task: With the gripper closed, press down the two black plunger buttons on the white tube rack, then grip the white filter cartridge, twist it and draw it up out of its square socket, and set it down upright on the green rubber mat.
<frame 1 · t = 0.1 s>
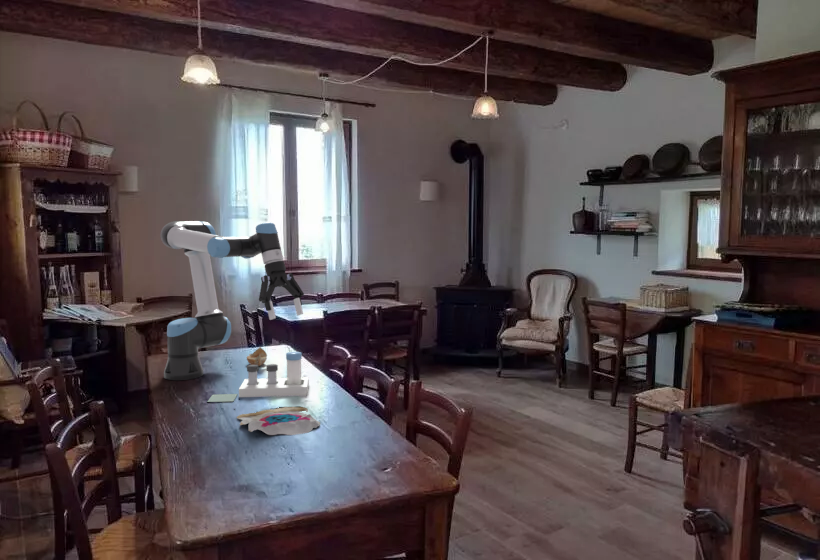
hand: (286, 317, 226), 28 cm above the table, tool tilted 20°, fingers open, 13 cm apart
plunger a: (252, 375, 221), point 7 cm above the table, slide at 0.0 cm
cartridge: (294, 390, 224), point 1 cm above the table, touching white tube rack
plunger b: (272, 374, 222), point 7 cm above the table, slide at 0.0 cm
rumpled printed cloth: (277, 423, 192), on the table
white tube rack: (275, 393, 223), on the table
mat: (222, 398, 216), on the table
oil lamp: (256, 365, 269), on the table
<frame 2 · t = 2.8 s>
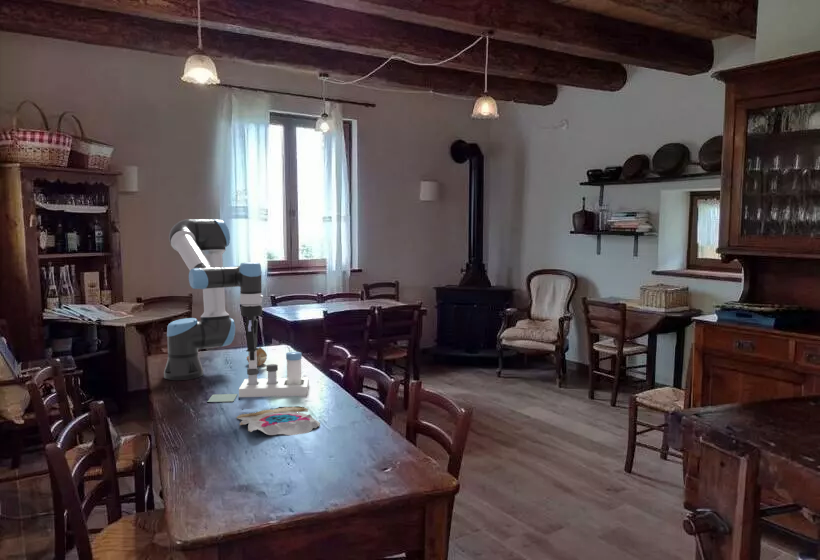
hand: (252, 368, 221), 10 cm above the table, tool pointing down, fingers closed
plunger a: (252, 377, 221), point 6 cm above the table, slide at 1.1 cm, touching gripper
everything else where it was.
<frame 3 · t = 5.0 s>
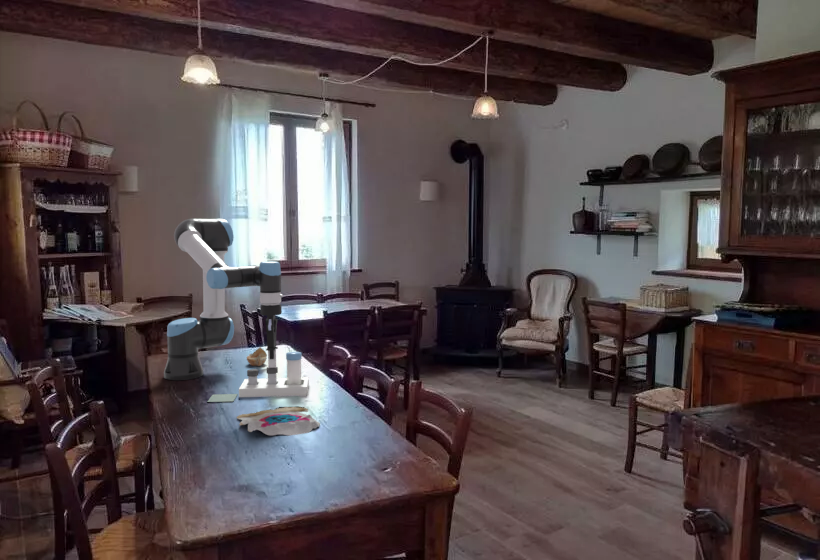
hand: (272, 367, 222), 10 cm above the table, tool pointing down, fingers closed
plunger a: (252, 379, 222), point 6 cm above the table, slide at 1.7 cm
plunger b: (272, 376, 222), point 6 cm above the table, slide at 0.9 cm, touching gripper
everything else where it was.
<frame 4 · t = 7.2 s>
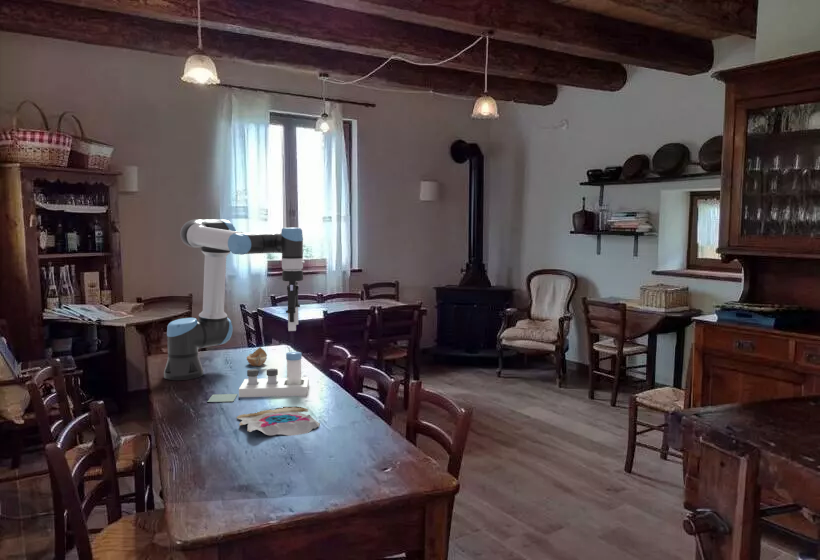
hand: (293, 327, 222), 25 cm above the table, tool pointing down, fingers open, 13 cm apart
plunger b: (272, 378, 222), point 6 cm above the table, slide at 1.7 cm
everything else where it was.
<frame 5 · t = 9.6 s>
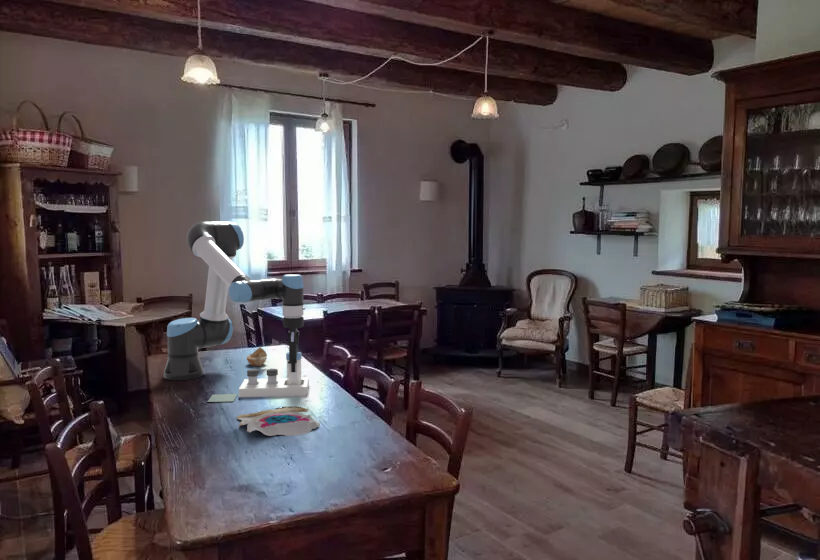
hand: (294, 378, 223), 6 cm above the table, tool pointing down, fingers closed on cartridge, 5 cm apart
cartridge: (294, 390, 224), point 1 cm above the table, touching gripper, white tube rack
everything else where it was.
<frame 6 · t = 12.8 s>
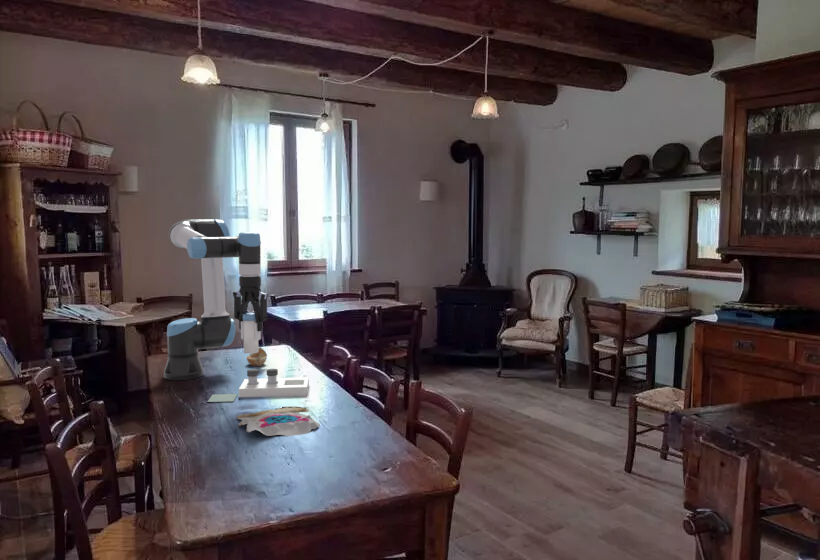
hand: (250, 339, 218), 21 cm above the table, tool pointing down, fingers closed on cartridge, 5 cm apart
cartridge: (251, 351, 218), point 16 cm above the table, touching gripper
everything else where it was.
when the fingers open (6 cm above the table, at t = 16.1 s): cartridge drops 1 cm, resting on mat.
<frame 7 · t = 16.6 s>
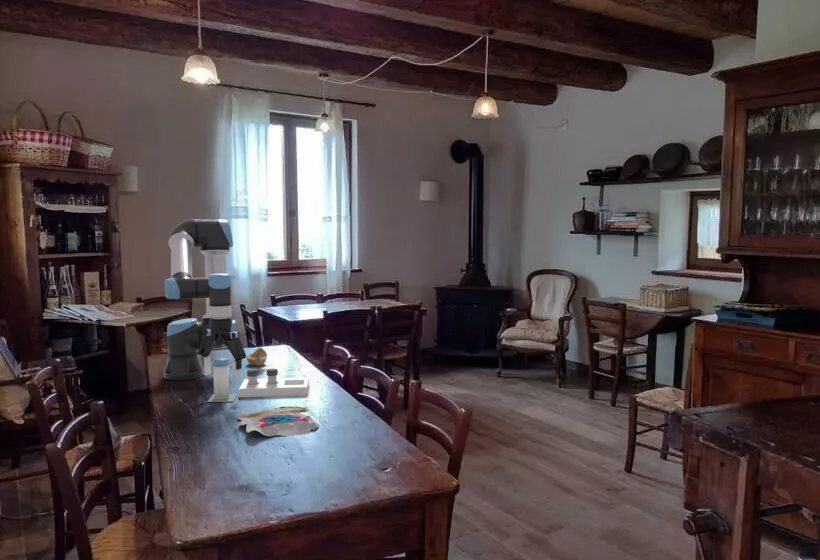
hand: (222, 376, 215), 8 cm above the table, tool pointing down, fingers open, 12 cm apart
cartridge: (221, 397, 216), resting on mat
everything else where it was.
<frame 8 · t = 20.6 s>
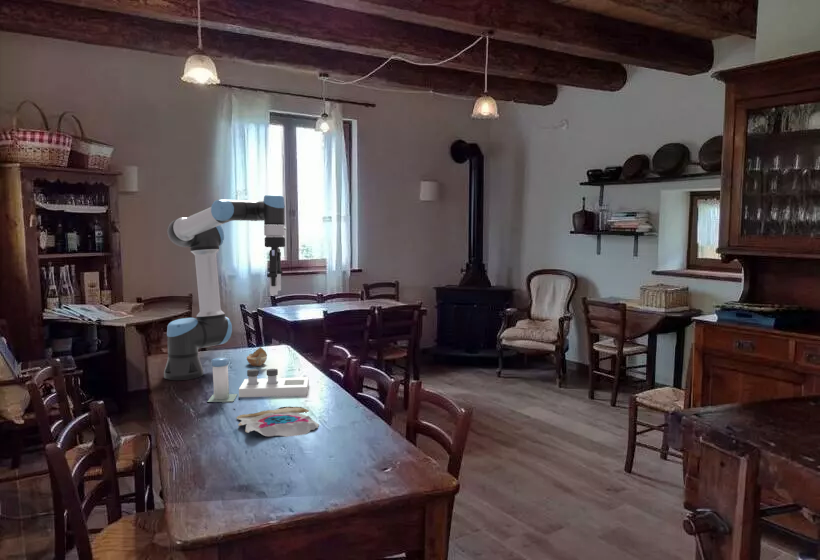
hand: (275, 292, 227), 37 cm above the table, tool pointing down, fingers open, 13 cm apart
at the end: cartridge inside the target area on the mat (0.4 cm from its centre), point 0.5 cm above the mat's base; plunger a slide at 1.7 cm; plunger b slide at 1.7 cm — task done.
